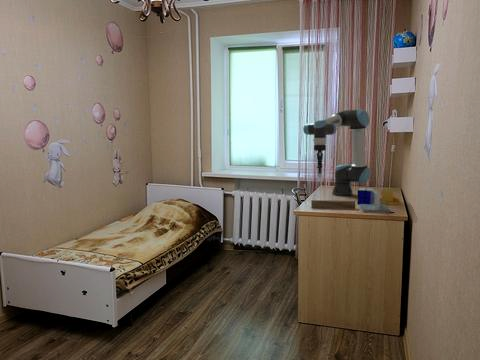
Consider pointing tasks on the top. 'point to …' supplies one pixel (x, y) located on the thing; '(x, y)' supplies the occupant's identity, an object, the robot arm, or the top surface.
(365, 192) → the puzzle cube
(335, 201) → the walnut batten
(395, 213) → the top surface
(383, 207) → the slate base
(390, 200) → the dollhouse swing
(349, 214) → the top surface
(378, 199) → the steel ridge
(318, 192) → the top surface
